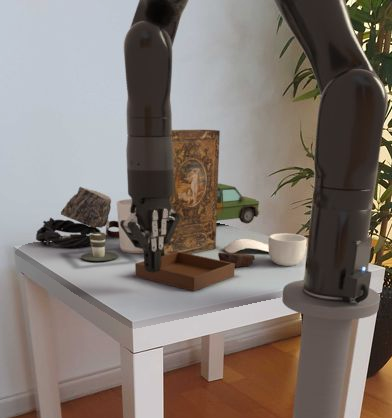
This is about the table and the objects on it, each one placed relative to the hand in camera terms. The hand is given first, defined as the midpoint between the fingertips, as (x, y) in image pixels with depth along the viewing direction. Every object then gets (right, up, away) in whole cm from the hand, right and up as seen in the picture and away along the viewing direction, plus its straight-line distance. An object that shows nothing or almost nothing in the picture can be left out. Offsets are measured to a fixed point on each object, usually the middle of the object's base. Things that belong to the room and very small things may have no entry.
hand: (153, 271), depth 96 cm
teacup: (+26, +5, +21) cm, 34 cm away
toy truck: (+14, +21, +58) cm, 63 cm away
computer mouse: (+20, +8, +30) cm, 37 cm away
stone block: (-18, +25, +33) cm, 45 cm away
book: (+5, +8, +28) cm, 30 cm away
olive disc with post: (-13, +6, +21) cm, 25 cm away
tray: (+5, 0, +9) cm, 11 cm away
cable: (-22, +12, +35) cm, 43 cm away
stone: (+16, +3, +17) cm, 24 cm away
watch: (-12, +15, +42) cm, 46 cm away
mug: (-5, +9, +29) cm, 31 cm away
